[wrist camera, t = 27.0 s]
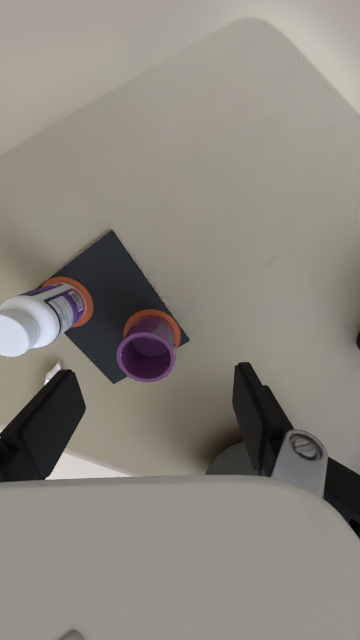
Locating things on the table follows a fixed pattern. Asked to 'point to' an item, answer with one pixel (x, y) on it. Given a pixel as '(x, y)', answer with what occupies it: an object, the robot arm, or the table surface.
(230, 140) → the table surface
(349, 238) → the table surface
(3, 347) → the pill bottle
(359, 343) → the coffee mug
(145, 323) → the cup
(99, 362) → the placemat
